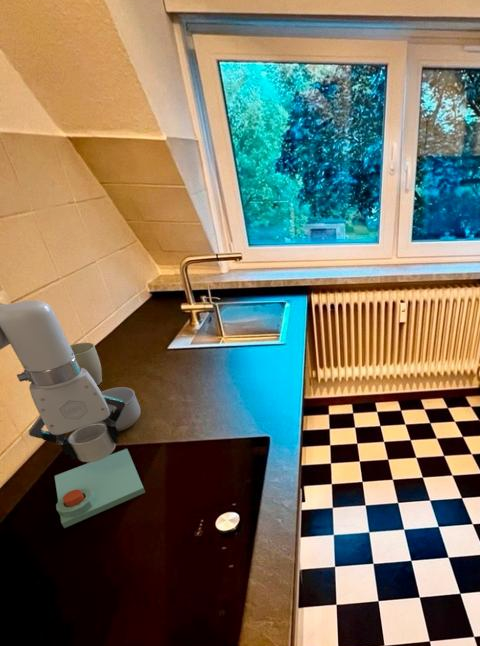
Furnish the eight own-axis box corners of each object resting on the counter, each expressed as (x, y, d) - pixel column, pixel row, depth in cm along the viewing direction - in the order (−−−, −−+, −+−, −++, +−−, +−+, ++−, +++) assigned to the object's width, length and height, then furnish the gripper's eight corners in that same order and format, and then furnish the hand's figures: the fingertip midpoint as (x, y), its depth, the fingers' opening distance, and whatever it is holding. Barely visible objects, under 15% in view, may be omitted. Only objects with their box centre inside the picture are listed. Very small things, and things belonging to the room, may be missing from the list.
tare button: (67, 509, 72) (63, 504, 71) (65, 500, 74) (61, 494, 73) (85, 502, 73) (82, 496, 72) (83, 492, 75) (80, 487, 74)
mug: (66, 389, 115) (47, 353, 108) (99, 375, 122) (84, 340, 115) (85, 399, 110) (67, 361, 103) (119, 383, 117) (104, 347, 110)
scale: (64, 528, 71) (57, 517, 70) (57, 480, 82) (50, 470, 80) (145, 492, 78) (140, 482, 77) (129, 453, 89) (124, 442, 87)
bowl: (81, 468, 76) (70, 449, 73) (77, 451, 80) (66, 432, 78) (119, 454, 79) (110, 434, 77) (113, 438, 84) (104, 419, 81)
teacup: (154, 416, 101) (143, 390, 97) (120, 441, 93) (107, 414, 88) (113, 407, 105) (102, 382, 101) (77, 431, 97) (63, 404, 93)
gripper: (-7, 396, 63) (45, 476, 72) (112, 363, 71) (145, 439, 81) (-6, 379, 68) (43, 456, 77) (105, 350, 76) (137, 423, 86)
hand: (95, 446), depth 79 cm, fingers closed on bowl, 6 cm apart
